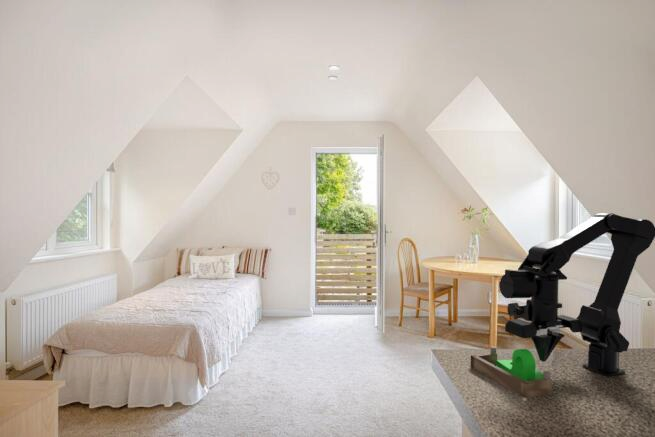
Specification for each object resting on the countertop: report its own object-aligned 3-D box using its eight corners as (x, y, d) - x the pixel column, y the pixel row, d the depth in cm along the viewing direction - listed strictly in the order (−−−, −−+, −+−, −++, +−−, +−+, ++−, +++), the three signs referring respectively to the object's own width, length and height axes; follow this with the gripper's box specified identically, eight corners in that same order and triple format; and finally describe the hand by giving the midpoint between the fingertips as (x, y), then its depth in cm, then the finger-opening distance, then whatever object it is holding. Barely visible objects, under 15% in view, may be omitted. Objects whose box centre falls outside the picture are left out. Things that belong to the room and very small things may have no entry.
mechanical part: (551, 388, 87) (551, 353, 87) (526, 389, 87) (527, 354, 87) (518, 367, 99) (518, 336, 99) (496, 368, 99) (497, 337, 98)
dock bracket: (493, 363, 101) (493, 346, 101) (551, 393, 84) (552, 373, 84) (470, 366, 99) (470, 349, 99) (525, 398, 82) (526, 377, 82)
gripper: (545, 289, 105) (544, 346, 105) (489, 292, 99) (488, 353, 100) (584, 297, 95) (583, 361, 95) (524, 302, 89) (522, 370, 89)
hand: (542, 360), depth 95 cm, fingers closed
